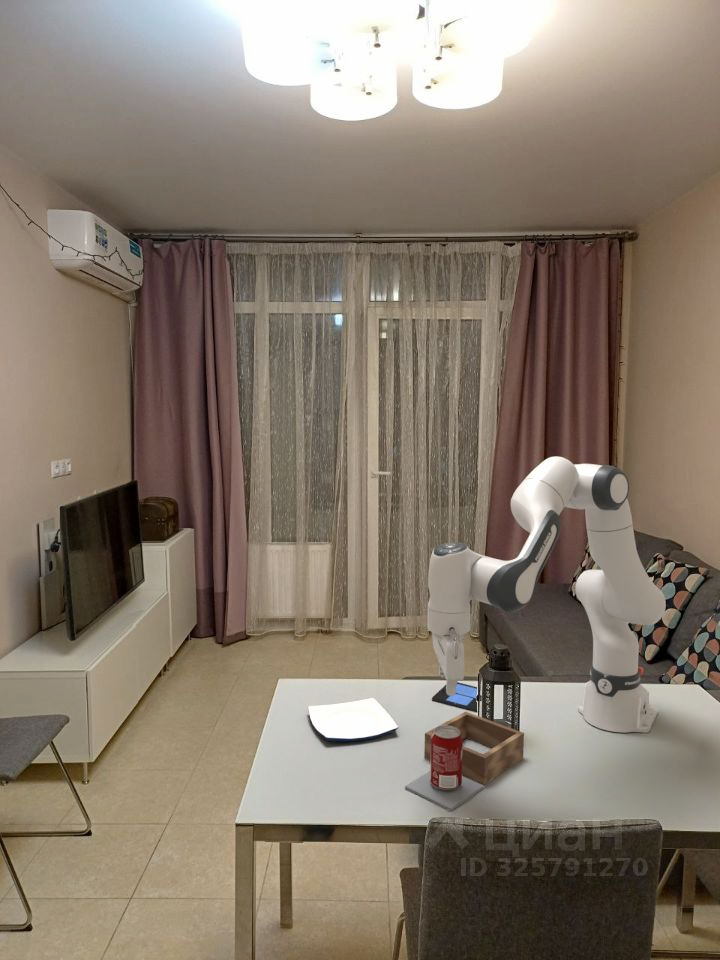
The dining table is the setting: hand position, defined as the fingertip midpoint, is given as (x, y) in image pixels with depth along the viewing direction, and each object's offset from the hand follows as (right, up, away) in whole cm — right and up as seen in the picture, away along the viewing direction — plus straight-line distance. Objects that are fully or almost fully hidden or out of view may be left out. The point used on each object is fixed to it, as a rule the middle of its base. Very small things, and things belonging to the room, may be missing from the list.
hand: (447, 685), depth 144 cm
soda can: (0, -22, +3) cm, 23 cm away
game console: (+11, -19, +49) cm, 54 cm away
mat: (0, -23, +2) cm, 23 cm away
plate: (-20, -20, +32) cm, 43 cm away
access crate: (+8, -22, +16) cm, 28 cm away
